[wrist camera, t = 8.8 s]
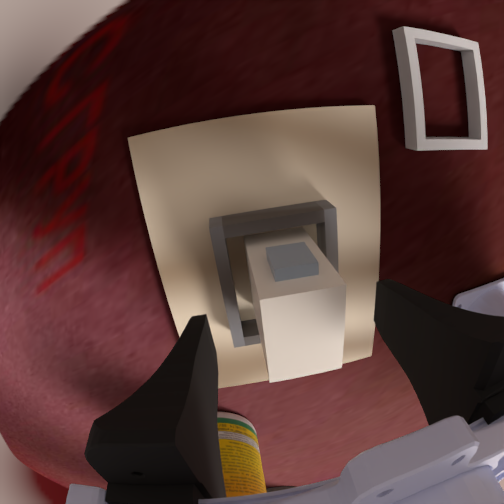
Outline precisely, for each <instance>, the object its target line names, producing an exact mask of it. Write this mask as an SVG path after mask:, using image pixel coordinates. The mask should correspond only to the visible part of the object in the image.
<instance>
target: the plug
mask: <svg viewBox="0 0 504 504" xmlns="http://www.w3.org/2000/svg"><path fill="white" fill-rule="evenodd" d="M243 237H244V244H245V251H246V259H247V266H248V273H249V281H250V288H251V295H252V302H253V308H254V312H255V317H256V322H257V326H258V331H259V335H260V340H261V345H262V349H263V354H264V358H265V363H266V368H267V372H268V377H269V381H270V383H271V382H277V381H283V380H288V379H293V378H298V377H303V376H308V375H313V374H317V373H322V372H326V371H331V370H335V369H339V368H342V359H343V346H344V331H345V312H346V287H347V284H346V283H345V282H344V280H343V279H342V278H341V276H340V275H339V274H338V272H337V271H336V270H335V268H334V267H333V266H332V264H331V263H330V262H329V260H328V259H327V258H326V257H325V255H324V254H323V253H322V251H321V250H320V249H319V247H318V246H317V245H316V244H315V242H314V241H313V240H312V238H311V237H310V236H309V235H308V233H307V232H306V231H305V229H304V228H303V227H300V228H293V229H286V230H279V231H272V232H265V233H259V234H252V235H245V236H243Z"/></svg>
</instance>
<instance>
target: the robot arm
mask: <svg viewBox="0 0 504 504" xmlns="http://www.w3.org/2000/svg"><path fill="white" fill-rule="evenodd" d="M374 322H375V324H376V326H377V329H378V331H379V333H380V335H381V337H382V339H383V340H384V342H385V343H386V345H387V346H388V348H389V349H390V351H391V352H392V354H393V355H394V357H395V358H396V359H397V361H398V362H399V364H400V365H401V367H402V368H403V370H404V371H405V373H406V375H407V376H408V378H409V380H410V382H411V384H412V386H413V388H414V390H415V392H416V394H417V396H418V399H419V401H420V403H421V406H422V408H423V410H424V413H425V416H426V418H427V421H428V424H429V426H427V427H425V428H422V429H420V430H417V431H415V432H413V433H410V434H407V435H405V436H402V437H400V438H397V439H394V440H392V441H389V442H386V443H383V444H380V445H377V446H375V447H373V448H371V449H369V450H366V451H364V452H362V453H360V454H359V455H357V456H356V457H354V458H353V459H352V460H350V461H349V462H348V463H347V465H346V466H345V468H344V469H343V470H342V472H341V475H340V477H337V478H333V479H329V480H325V481H321V482H317V483H313V484H309V485H304V486H300V487H295V488H290V489H284V490H279V491H273V492H267V493H260V494H253V495H245V496H236V497H226V490H225V484H224V477H223V470H222V463H221V455H220V446H219V436H218V425H217V407H218V374H219V372H218V361H217V352H216V348H215V344H214V341H213V337H212V333H211V329H210V326H209V322H208V318H207V314H203V315H197V316H192V317H191V318H190V319H189V321H188V323H187V325H186V327H185V329H184V331H183V332H182V334H181V336H180V338H179V339H178V341H177V342H176V344H175V346H174V347H173V349H172V350H171V352H170V353H169V355H168V356H167V358H166V359H165V360H164V362H163V363H162V364H161V366H160V367H159V368H158V370H157V371H156V372H155V373H154V374H153V375H152V376H151V378H150V379H149V380H148V381H147V382H146V383H144V384H143V385H142V386H141V387H140V388H139V389H138V390H137V391H136V392H135V393H134V394H133V395H131V396H130V397H129V398H128V399H126V400H125V401H124V402H122V403H121V404H120V405H118V406H117V407H115V408H114V409H112V410H111V411H109V412H108V413H106V414H104V415H103V416H101V417H99V418H98V419H96V420H94V422H93V425H92V427H91V430H90V434H89V438H88V442H87V446H86V450H85V457H86V460H87V461H88V462H89V464H90V465H91V466H92V467H93V468H94V469H95V470H96V471H97V472H98V473H99V474H100V475H101V476H102V477H103V478H104V479H105V480H106V481H107V482H108V485H107V491H106V490H105V489H102V488H100V487H95V486H86V485H79V484H70V487H69V491H68V496H67V500H66V504H504V491H503V489H502V487H501V486H500V484H499V481H500V480H502V479H503V478H504V278H502V279H500V280H497V281H494V282H492V283H489V284H486V285H483V286H480V287H478V288H475V289H472V290H469V291H466V292H463V293H460V294H458V295H456V296H455V298H454V300H453V304H452V305H449V304H446V303H444V302H441V301H438V300H436V299H434V298H431V297H429V296H427V295H424V294H422V293H420V292H418V291H416V290H413V289H411V288H409V287H407V286H405V285H403V284H400V283H398V282H396V281H393V280H390V279H386V280H382V281H377V282H376V296H375V310H374Z"/></svg>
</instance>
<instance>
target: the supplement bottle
mask: <svg viewBox="0 0 504 504" xmlns="http://www.w3.org/2000/svg"><path fill="white" fill-rule="evenodd" d="M217 425H218V436H219V446H220V455H221V463H222V470H223V477H224V484H225V490H226V497H236V496H245V495H253V494H260V493H267V492H266V486H265V481H264V475H263V470H262V464H261V458H260V452H259V446H258V440H257V435H256V431H255V428H254V427H253V425H252V424H251V423H250V422H249V421H248V420H247V419H246V418H244V417H242V416H240V415H237V414H233V413H228V412H217Z"/></svg>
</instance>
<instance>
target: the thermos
mask: <svg viewBox="0 0 504 504" xmlns="http://www.w3.org/2000/svg"><path fill="white" fill-rule="evenodd" d="M290 488H295V487H294V486H282V487H273V488H267V489H266V492H273V491H279V490H284V489H290Z"/></svg>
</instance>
